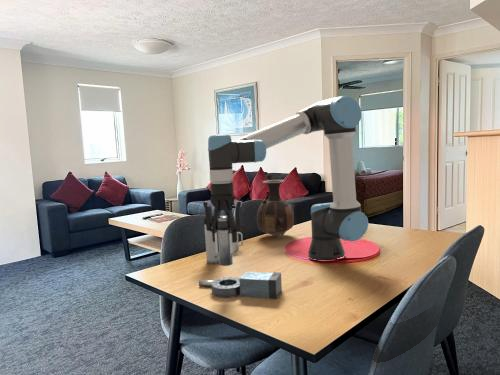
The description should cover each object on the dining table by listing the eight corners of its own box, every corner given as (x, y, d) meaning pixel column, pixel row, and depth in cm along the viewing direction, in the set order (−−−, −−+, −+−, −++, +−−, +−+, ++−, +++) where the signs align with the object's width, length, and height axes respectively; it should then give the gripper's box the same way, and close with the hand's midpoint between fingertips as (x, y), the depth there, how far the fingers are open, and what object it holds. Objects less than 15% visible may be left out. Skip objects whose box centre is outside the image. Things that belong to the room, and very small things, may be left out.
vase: (257, 232, 211) (255, 179, 208) (292, 231, 210) (290, 177, 207) (257, 243, 188) (254, 183, 185) (296, 241, 187) (293, 181, 184)
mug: (212, 251, 177) (211, 231, 176) (222, 245, 187) (221, 226, 186) (238, 253, 172) (237, 232, 171) (247, 247, 182) (246, 227, 181)
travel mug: (219, 264, 158) (216, 217, 156) (204, 263, 159) (201, 217, 157) (223, 259, 164) (221, 214, 162) (209, 259, 165) (206, 214, 163)
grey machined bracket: (283, 288, 127) (282, 270, 127) (275, 301, 117) (274, 282, 116) (203, 283, 137) (201, 266, 136) (189, 294, 126) (187, 276, 126)
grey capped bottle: (235, 262, 128) (232, 215, 126) (230, 266, 124) (227, 218, 122) (222, 261, 130) (219, 215, 128) (216, 265, 125) (214, 218, 123)
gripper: (250, 180, 125) (253, 249, 127) (202, 181, 130) (206, 247, 132) (243, 183, 117) (246, 255, 120) (192, 183, 123) (196, 253, 125)
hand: (225, 251), depth 126 cm, fingers closed on grey capped bottle, 4 cm apart
